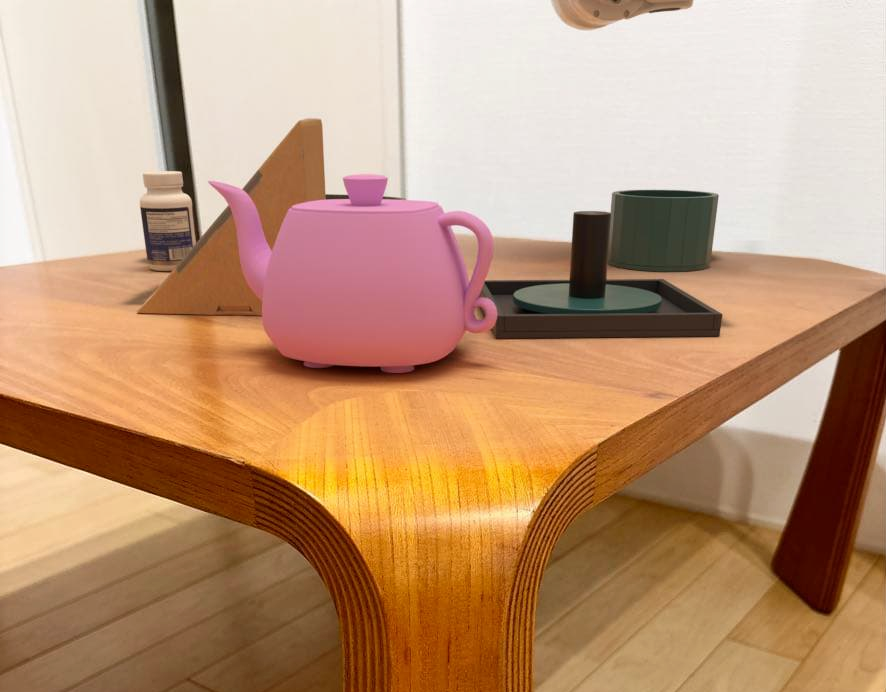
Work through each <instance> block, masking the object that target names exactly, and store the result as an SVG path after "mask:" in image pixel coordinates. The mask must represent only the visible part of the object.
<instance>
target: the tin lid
mask: <svg viewBox="0 0 886 692" xmlns="http://www.w3.org/2000/svg"><path fill="white" fill-rule="evenodd" d="M610 224H611V212H609V211H601V210H579V211H573V216H572V230H571V231H572V233H571V249H570V264H569V265H570V267H569V280H570V281H569V283H563V284H547V285H538V286H532V287H527V288H523V289H520V290H518V291H516V292H515V293H514V295H513V302H514V304H515V305H517V306H519V307H521V308H524V309H527V310H530V311H535V312H537V313H539V314H611V313H649V312H652V311H655V310H657V309H659V308H660V307H661V301H662V299H661V297H660V296H659V295H658V294H656V293H653V292H651V291H647V290H643V289H638V288H633V287H626V286H618V285H608V284H606V279H607V277H608V276H607V275H608V265H609V264H608V250H609V237H610Z"/></svg>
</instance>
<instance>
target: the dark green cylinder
mask: <svg viewBox="0 0 886 692" xmlns="http://www.w3.org/2000/svg"><path fill="white" fill-rule="evenodd" d="M719 197H720V196H719V193H715V192H709V191H699V190H687V189H685V190H684V189H626V190H617V191H613V192H611V202H610V213H611V224H610V237H609V250H608V264H607V265H610V266H612V267H615V268H619V269H626V270H632V271H643V272H661V273H663V272H664V273H668V272H669V273H672V272H673V273H674V272H675V273H678V272H694V271H702V270H705V269H708V268H711V267H710V266H711V262H712V255H713V247H714V238H715V231H716V230H715V229H716V221H717V214H718V205H719Z"/></svg>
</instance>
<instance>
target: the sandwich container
mask: <svg viewBox="0 0 886 692" xmlns="http://www.w3.org/2000/svg"><path fill="white" fill-rule="evenodd" d="M324 152H325V151H324V131H323V121H322V119H321V118H314V117H313V118H311V117H309V118H307V117H306V118H304V119H299V120H298V121H297V122H296V123H295V124H294V125H293V126H292V128H291V129H290V130H289V132H288V133H287V134H286V135H285V136H284V137H283V139H282V140H281V141H280V143H279V144H278V145H277V146H276V147H275V148H274V150H273V151H272V152H271V154H270V155H269V156H268V157H267V158H266V160H265V161H264V162H263V163H262V164H261V166H259V168H258V169H257V170H256V171H255V173H254V174H253V175H252V177H251V178H250V179H249V181H247V182H246V184H245V185H244V186H243V188H241V189H242V190H244V191H245V192H246V193H247V194H248V195H249V197H250V198H251V199H252V201H253V203H254V205H255V207H256V209H257V212H258V215H259V218H260V222H261V226H262V229H263V233H264V236H265V239H266V241H267V244H268V245H269V247H270V249H271V250H273V247H274V244H275V241H276V239H277V236H278V233H279V231H280V228H281V225H282V223H283V220H284V218H285V216H286V214H287V212H288V210H289V209H290V208H291V207H292V206H293V205H296V204H300V203H305V202H310V201H317V200H326V195H325V194H326V176H325V174H326V173H325V153H324ZM196 242H197V243H196V244H195V245H194V246H193V247H192V249H191V250H190V251H189V252H188V253H187V254H186V256H185V257H184V258H183V259H182V260H181V261H180V263H179V264H178V265H177V266H176V267H175V268H174V270H173V271H170V273H169V274H168V275H167V276H166V277H165V278H164V279H163V281H161V283H160V284H159V285H158V287H157V288H155V290H154V291H153V292H152V294H151V295H150V296H149V297H148V298H147V299H146V300H145V302H143V304H142V305H141V306H140V307H139V308H138V309H137V310H136V313H137V314H161V315H162V314H167V315H168V314H169V315H170V314H171V315H209V316H210V315H212V316H214V315H215V316H216V315H223V316H224V315H226V316H227V315H230V316H233V315H234V316H262V301H261V300H260V299H259V298H258V297H257V296H256V295H255V294H254V292H253V291H252V290H251V288H250V287H249V285H248V283H247V281H246V279H245V277H244V275H243V271H242V267H241V264H240V257H239V249H238V238H237V230H236V225H235V220H234V217H233V214H232V211H231V208H230V206H229V205H228V204H227V206H226V207H225V208H224V209H223V211H222V212H221V213H220V214H219V215H218V216H217V218H216V219H215V220H214V221H213V223H212V224H211V225H210V226H209V228H207V230H206V231H205V232H204V233H203V235H201V237H199V239H198V240H197V241H196Z"/></svg>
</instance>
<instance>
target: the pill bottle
mask: <svg viewBox="0 0 886 692" xmlns="http://www.w3.org/2000/svg"><path fill="white" fill-rule="evenodd" d="M142 180H143V185H144V188H146V193H145V194H143V195H142V196H141V197H140V198H139V209H140V216H141V223H142V232H143V240H144V246H145V254H146V260H147V261H146V262H147V266H148V268H149V269H150V270H151V271H155V272H172V271H173V270H174V268H175V267H176V266H177V265H178V264H179V263H180V261H181V260H182V259H183V258H184V257H185V256H186V254H187V253H188V252H189V251H190V250H191V249H192V247H193V246H194V245H195V244H196V243H197V242H198V241H197V233H196V226H195V225H196V224H195V217H194V216H195V215H194V207H193V201H192V198H191V197H190V195H188V194H187V193H184V191H183V190H182V187H184V179H183V172H182V171H178V170H176V171H175V170H160V171H145V172H142Z"/></svg>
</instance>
